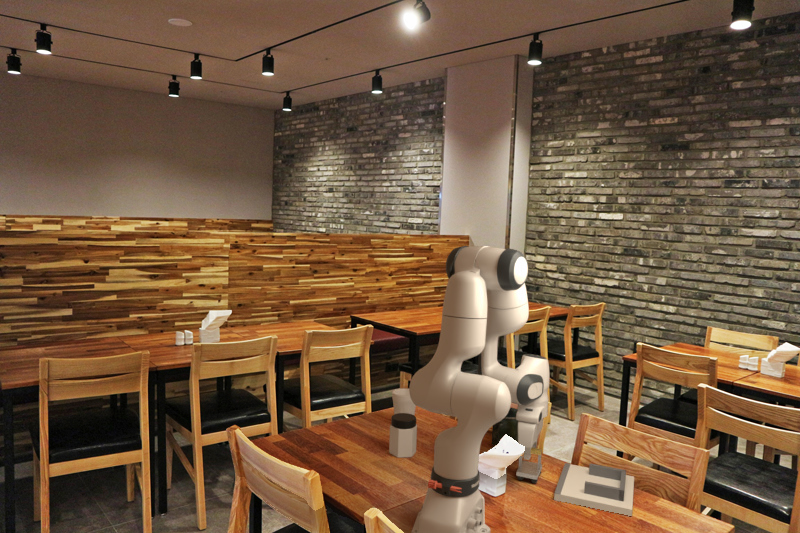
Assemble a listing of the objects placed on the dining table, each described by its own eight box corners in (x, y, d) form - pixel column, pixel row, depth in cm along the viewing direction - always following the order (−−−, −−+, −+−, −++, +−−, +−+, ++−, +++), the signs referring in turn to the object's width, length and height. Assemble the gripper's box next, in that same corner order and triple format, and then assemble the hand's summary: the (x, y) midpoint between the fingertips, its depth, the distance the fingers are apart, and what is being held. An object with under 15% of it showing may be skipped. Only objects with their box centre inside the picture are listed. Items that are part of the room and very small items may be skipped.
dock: (631, 517, 150) (633, 498, 150) (554, 500, 158) (555, 482, 158) (633, 483, 170) (634, 466, 170) (564, 469, 178) (565, 453, 178)
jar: (421, 454, 186) (422, 418, 185) (401, 460, 181) (403, 423, 180) (403, 445, 193) (404, 410, 192) (384, 451, 188) (385, 415, 187)
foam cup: (416, 431, 206) (418, 396, 205) (391, 431, 206) (392, 395, 205) (415, 422, 216) (417, 388, 215) (391, 421, 215) (392, 388, 214)
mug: (528, 445, 196) (529, 411, 196) (509, 459, 185) (511, 423, 184) (499, 437, 203) (501, 404, 202) (479, 450, 191) (481, 415, 190)
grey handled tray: (537, 485, 166) (538, 455, 166) (515, 481, 169) (516, 451, 168) (542, 473, 175) (544, 444, 174) (521, 469, 177) (522, 440, 176)
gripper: (528, 396, 181) (526, 439, 182) (514, 416, 162) (512, 463, 163) (549, 399, 178) (546, 442, 179) (537, 420, 160) (534, 467, 161)
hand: (530, 453), depth 171 cm, fingers open, 8 cm apart
